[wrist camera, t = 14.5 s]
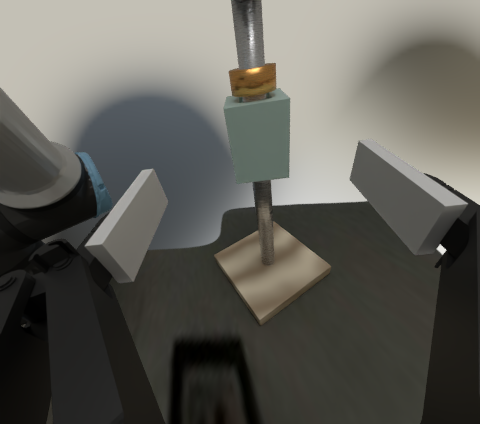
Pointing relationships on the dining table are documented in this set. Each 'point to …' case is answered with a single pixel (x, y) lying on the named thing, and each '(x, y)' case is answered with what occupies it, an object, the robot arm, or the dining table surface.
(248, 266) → the stand base
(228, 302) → the dining table surface
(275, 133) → the sleeve
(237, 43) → the post
